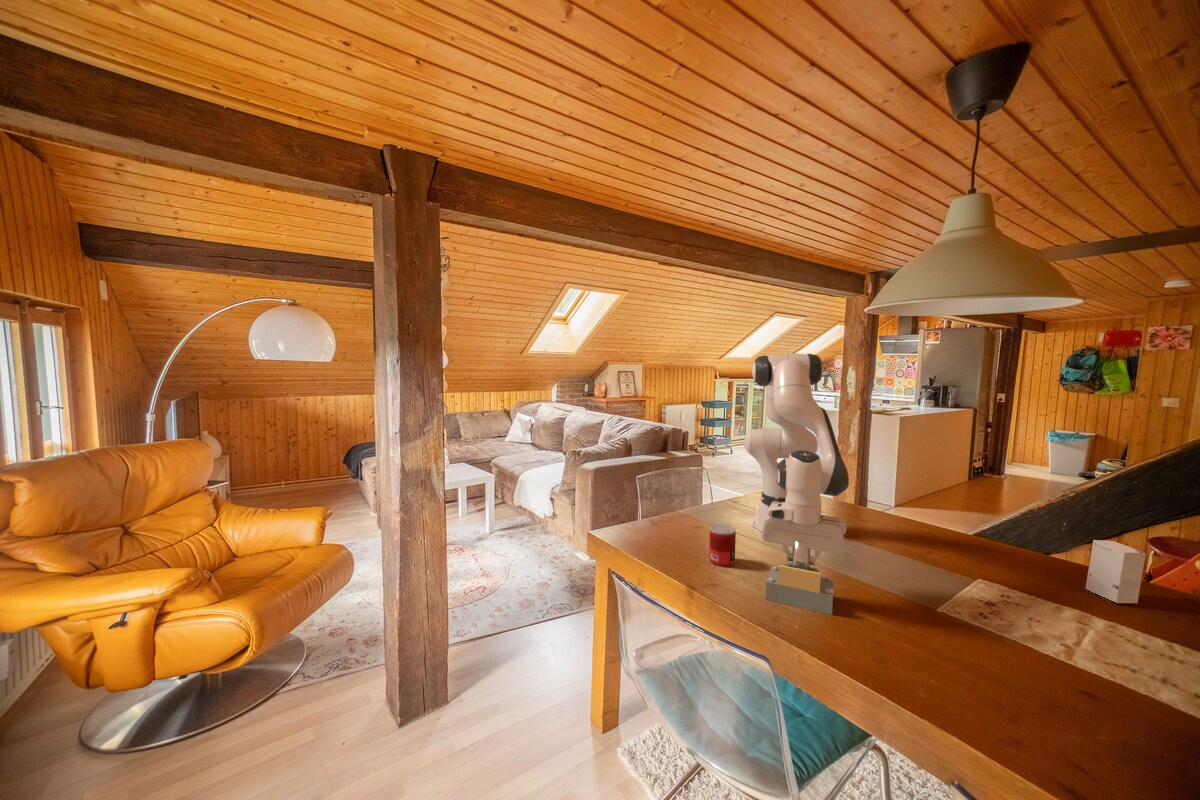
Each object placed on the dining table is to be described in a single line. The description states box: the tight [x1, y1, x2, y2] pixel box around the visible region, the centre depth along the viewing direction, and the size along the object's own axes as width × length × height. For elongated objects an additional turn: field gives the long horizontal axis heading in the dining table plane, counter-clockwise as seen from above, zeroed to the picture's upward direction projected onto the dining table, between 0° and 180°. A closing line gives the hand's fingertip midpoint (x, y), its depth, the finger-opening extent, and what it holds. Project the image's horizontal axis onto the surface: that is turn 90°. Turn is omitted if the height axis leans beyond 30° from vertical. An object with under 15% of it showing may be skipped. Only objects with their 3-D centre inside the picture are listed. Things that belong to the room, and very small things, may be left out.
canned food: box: [708, 524, 737, 568], centre depth 147 cm, size 8×8×11 cm
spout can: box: [791, 541, 811, 571], centre depth 123 cm, size 4×4×11 cm
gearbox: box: [765, 562, 835, 616], centre depth 124 cm, size 10×16×10 cm, turn 62°
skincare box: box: [1085, 539, 1147, 604], centre depth 124 cm, size 8×6×15 cm
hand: (800, 562), depth 124 cm, fingers closed on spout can, 4 cm apart
